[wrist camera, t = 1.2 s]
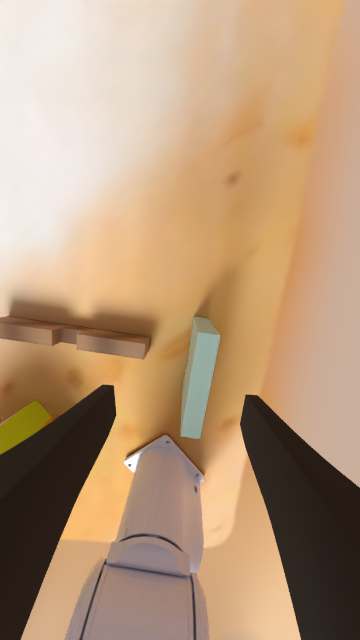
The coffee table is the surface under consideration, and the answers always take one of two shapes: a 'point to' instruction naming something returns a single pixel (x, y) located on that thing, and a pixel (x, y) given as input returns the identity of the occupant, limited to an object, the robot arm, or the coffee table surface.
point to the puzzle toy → (23, 425)
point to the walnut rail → (74, 337)
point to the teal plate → (198, 376)
